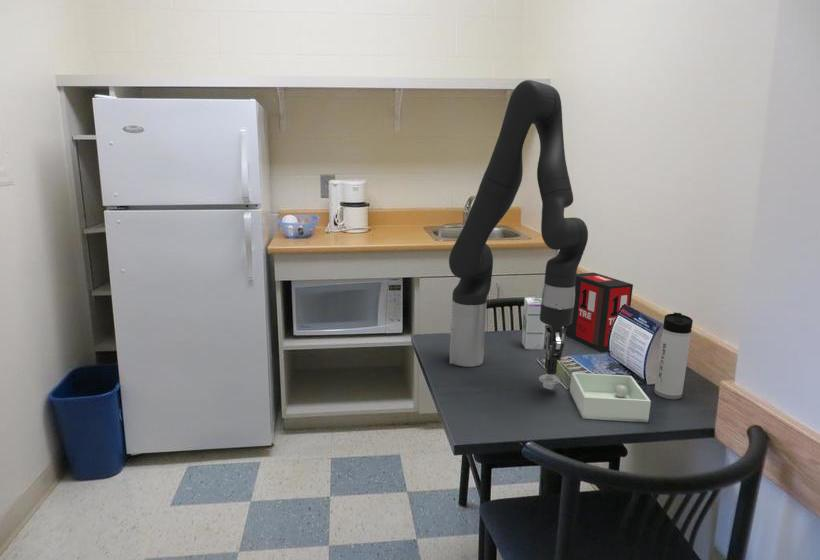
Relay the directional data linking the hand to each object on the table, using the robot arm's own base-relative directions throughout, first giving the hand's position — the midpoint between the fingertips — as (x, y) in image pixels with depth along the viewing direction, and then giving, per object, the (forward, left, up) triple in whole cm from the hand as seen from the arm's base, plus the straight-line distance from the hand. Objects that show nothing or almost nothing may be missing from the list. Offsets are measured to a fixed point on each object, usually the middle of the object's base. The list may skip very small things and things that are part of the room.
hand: (550, 371), depth 140 cm
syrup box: (0, +33, -6) cm, 34 cm away
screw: (0, 0, -4) cm, 4 cm away
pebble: (+17, -2, -5) cm, 17 cm away
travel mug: (+29, +3, -6) cm, 30 cm away
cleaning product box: (+20, +40, -6) cm, 45 cm away
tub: (+12, -6, -5) cm, 15 cm away
